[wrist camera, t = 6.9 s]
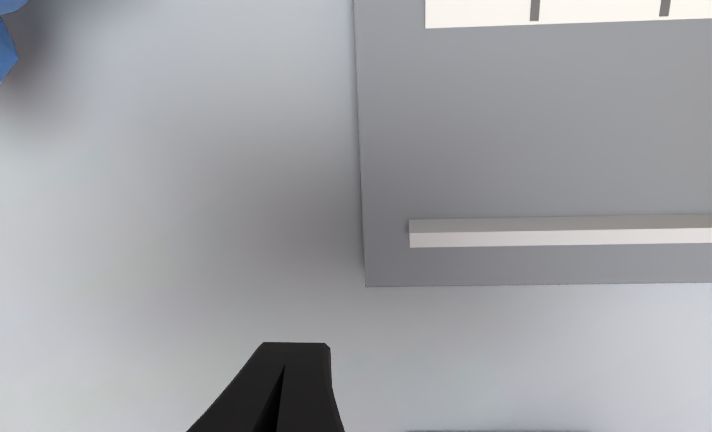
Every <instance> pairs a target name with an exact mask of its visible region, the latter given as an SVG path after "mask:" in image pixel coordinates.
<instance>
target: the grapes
mask: <svg viewBox="0 0 712 432" xmlns="http://www.w3.org/2000/svg"><path fill="white" fill-rule="evenodd" d="M28 1H30V0H0V15H3V14H7V13H12V12H16V11H17V10H19V9H20V8H21V7H22V6H24V5H25V4H26V3H27V2H28ZM18 59H19V58H18V55H17V52H16V48H15V45H14V42H13V40H12V38H11V36H10V34H9V32H8V30H7V28H6V25H5V23H4V21H3V19H2V18H1V17H0V84H1V82H2V81H3V80H4V78H5V77H6V76H7V74H8V73H9V72H10V70H11V69H12V68H13V66H14V65H15V63H16V62H17V61H18Z"/></svg>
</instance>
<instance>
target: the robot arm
mask: <svg viewBox="0 0 712 432" xmlns="http://www.w3.org/2000/svg"><path fill="white" fill-rule="evenodd" d="M187 432H345V431H344V428H343V425H342V422H341V419H340V415H339V412H338V408H337V405H336V401H335V398H334V393H333V389H332V377H331V353H330V347H329V346H327V345H326V344H325V343H287V342H263V343H262V344H261V345H260V346H259V347H258V348H257V349H256V351H255V352H254V353H253V355H252V356H251V357H250V359H249V360H248V361H247V363H246V364H245V365H244V367H243V368H242V369H241V370H240V372H239V373H238V374H237V375H236V377H235V378H234V379H233V380H232V382H231V383H230V384H229V385H228V386H227V388H226V389H225V390H224V391H223V392H222V393H221V395H220V396H219V397H218V398H217V399H216V400H215V401H214V403H213V404H212V405H211V406H210V407H209V408H208V410H207V411H206V412H205V413H204V414H203V415H202V416H201V417H200V418H199V419H198V420H197V421H196V422H195V423H194V424H193V425H192V426H191V427H190V428H189V429H188V431H187Z"/></svg>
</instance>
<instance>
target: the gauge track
mask: <svg viewBox="0 0 712 432" xmlns="http://www.w3.org/2000/svg"><path fill="white" fill-rule="evenodd" d="M354 25H355V49H356V73H357V98H358V122H359V147H360V171H361V195H362V220H363V244H364V268H365V287H411V286H489V285H568V284H646V283H712V0H354Z"/></svg>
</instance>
